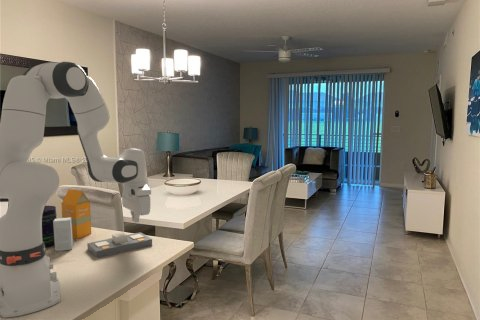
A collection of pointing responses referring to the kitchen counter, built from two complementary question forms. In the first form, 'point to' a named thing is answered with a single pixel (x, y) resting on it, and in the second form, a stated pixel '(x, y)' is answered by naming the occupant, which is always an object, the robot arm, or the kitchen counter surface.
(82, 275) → the kitchen counter surface
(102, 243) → the near button
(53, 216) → the dark blue cylinder
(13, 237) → the robot arm
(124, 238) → the middle button
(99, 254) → the button panel
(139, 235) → the far button
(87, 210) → the orange juice
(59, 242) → the skincare box
